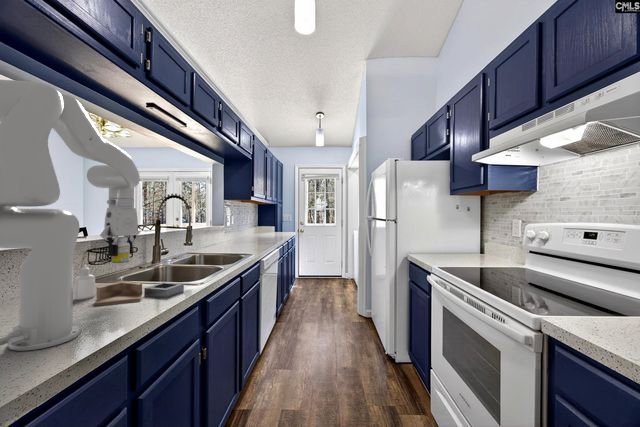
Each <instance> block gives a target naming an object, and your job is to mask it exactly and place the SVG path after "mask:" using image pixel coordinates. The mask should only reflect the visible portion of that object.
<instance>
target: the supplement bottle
mask: <svg viewBox="0 0 640 427" xmlns="http://www.w3.org/2000/svg"><path fill="white" fill-rule="evenodd" d="M128 238H129V237H124V236H118V239H117V243H116V244H117V245H118V255H117V256H111V265H112V266H113V265H114V266H123V265H128V264H130V261H131V260H130V257H131V256H130V255H131V254H130V244H129V243H127V240H128Z"/></svg>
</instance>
